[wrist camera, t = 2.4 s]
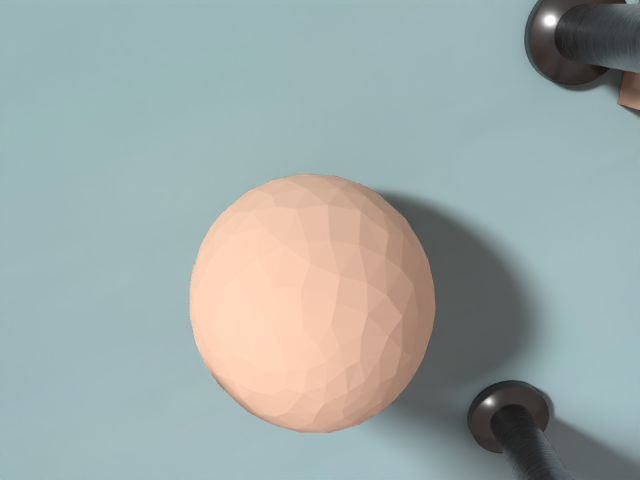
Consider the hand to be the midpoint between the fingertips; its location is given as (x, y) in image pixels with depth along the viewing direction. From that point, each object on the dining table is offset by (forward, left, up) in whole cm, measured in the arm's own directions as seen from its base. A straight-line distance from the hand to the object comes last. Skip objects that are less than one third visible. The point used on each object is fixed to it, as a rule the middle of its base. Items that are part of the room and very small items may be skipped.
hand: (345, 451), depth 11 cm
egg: (0, 0, -10) cm, 10 cm away
